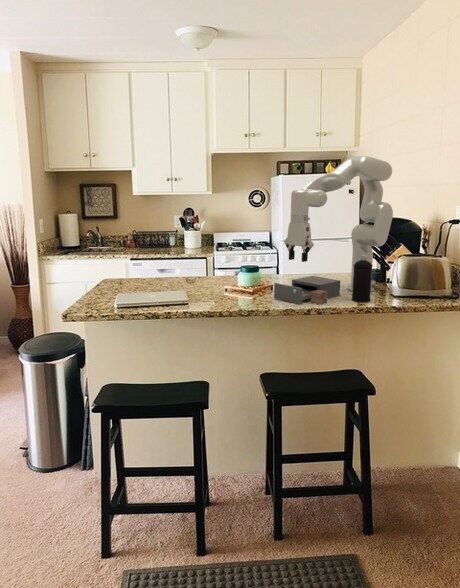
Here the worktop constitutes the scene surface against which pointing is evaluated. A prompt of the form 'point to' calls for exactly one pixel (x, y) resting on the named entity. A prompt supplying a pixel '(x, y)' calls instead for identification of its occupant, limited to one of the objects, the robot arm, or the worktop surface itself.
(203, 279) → the worktop surface
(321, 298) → the walnut block
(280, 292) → the grey drawer
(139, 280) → the worktop surface
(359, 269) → the aerosol can
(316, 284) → the grey drawer box
